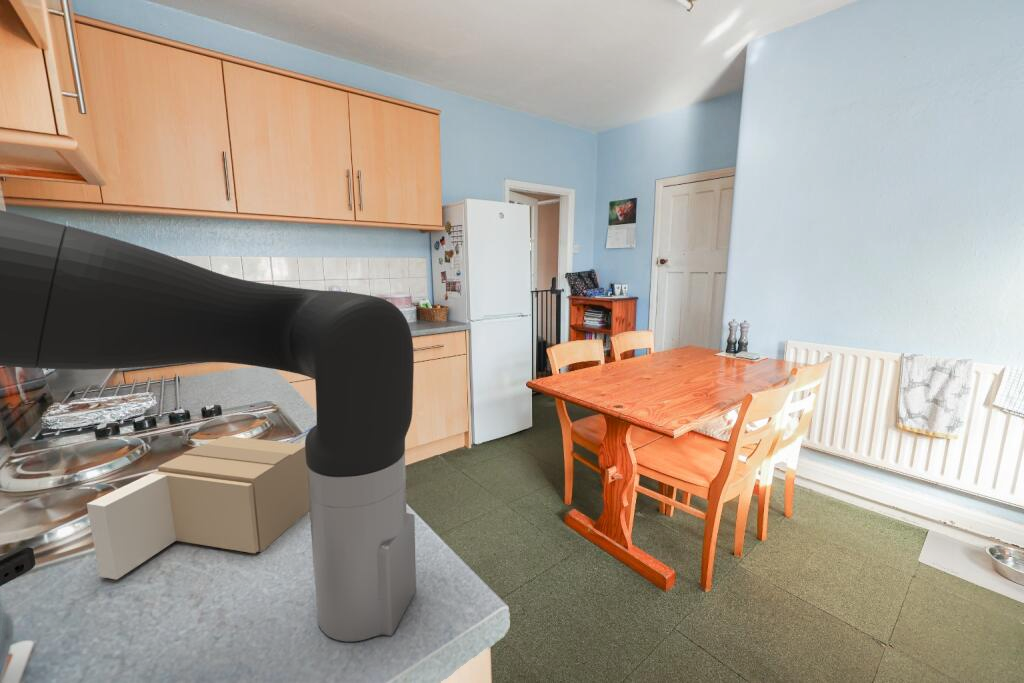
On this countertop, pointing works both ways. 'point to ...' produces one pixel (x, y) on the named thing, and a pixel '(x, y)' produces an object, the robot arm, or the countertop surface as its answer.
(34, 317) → the robot arm
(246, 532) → the carton flap
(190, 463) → the kraft carton
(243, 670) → the countertop surface
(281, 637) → the countertop surface
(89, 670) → the countertop surface
